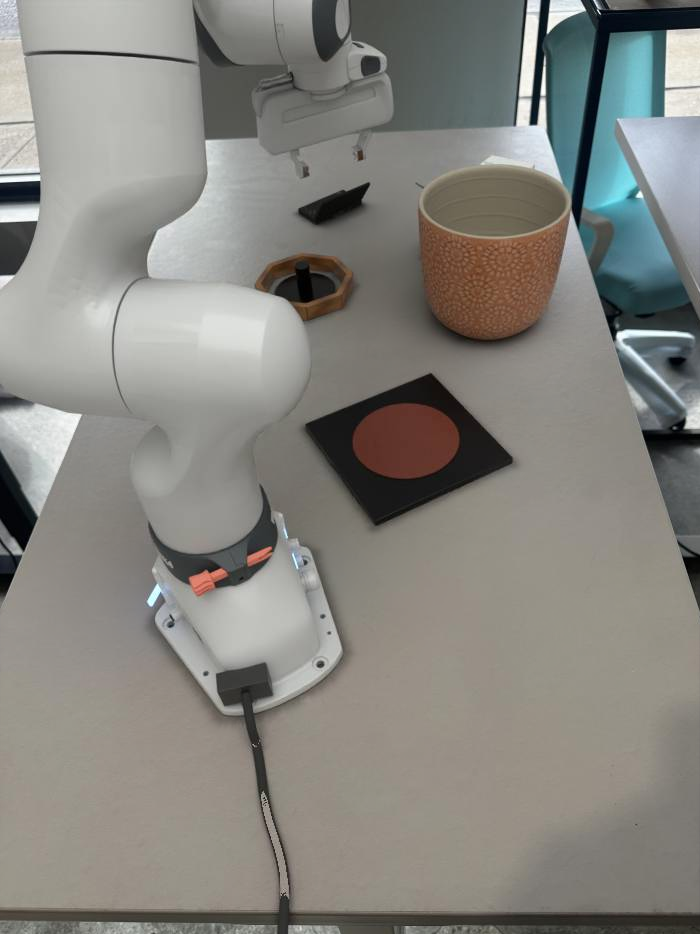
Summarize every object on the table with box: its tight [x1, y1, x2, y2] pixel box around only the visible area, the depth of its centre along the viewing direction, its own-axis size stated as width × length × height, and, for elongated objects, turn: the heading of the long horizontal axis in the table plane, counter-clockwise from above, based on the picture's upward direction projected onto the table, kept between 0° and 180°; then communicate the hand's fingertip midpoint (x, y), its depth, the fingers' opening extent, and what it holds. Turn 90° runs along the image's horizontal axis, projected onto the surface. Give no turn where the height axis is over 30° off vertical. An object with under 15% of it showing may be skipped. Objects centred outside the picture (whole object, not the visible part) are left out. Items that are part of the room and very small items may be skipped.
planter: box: [417, 164, 573, 341], centre depth 107 cm, size 21×21×19 cm
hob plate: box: [304, 372, 514, 526], centre depth 96 cm, size 20×20×1 cm
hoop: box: [254, 252, 355, 321], centre depth 120 cm, size 15×15×2 cm
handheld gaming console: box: [297, 181, 371, 225], centre depth 135 cm, size 12×7×10 cm
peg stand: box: [274, 261, 337, 303], centre depth 119 cm, size 10×10×5 cm
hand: (331, 167), depth 109 cm, fingers open, 8 cm apart
